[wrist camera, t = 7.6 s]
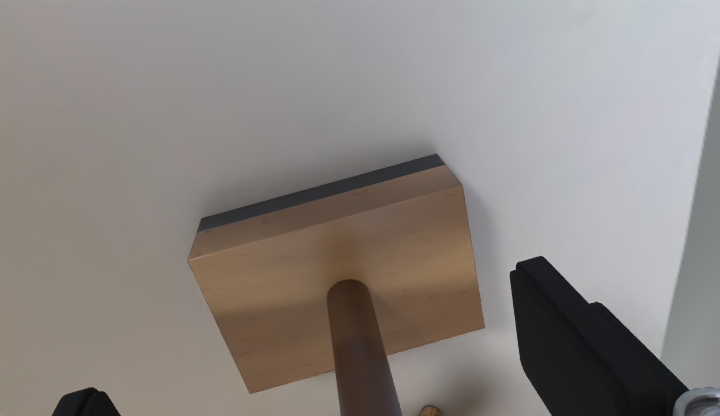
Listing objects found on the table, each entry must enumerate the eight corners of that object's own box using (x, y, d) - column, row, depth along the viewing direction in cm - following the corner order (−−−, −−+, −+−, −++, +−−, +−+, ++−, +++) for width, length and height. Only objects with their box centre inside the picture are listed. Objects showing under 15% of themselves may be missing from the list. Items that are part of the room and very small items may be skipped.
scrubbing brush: (436, 153, 25) (459, 283, 28) (201, 218, 24) (254, 340, 28) (554, 294, 14) (567, 474, 17) (134, 412, 14) (234, 571, 17)
